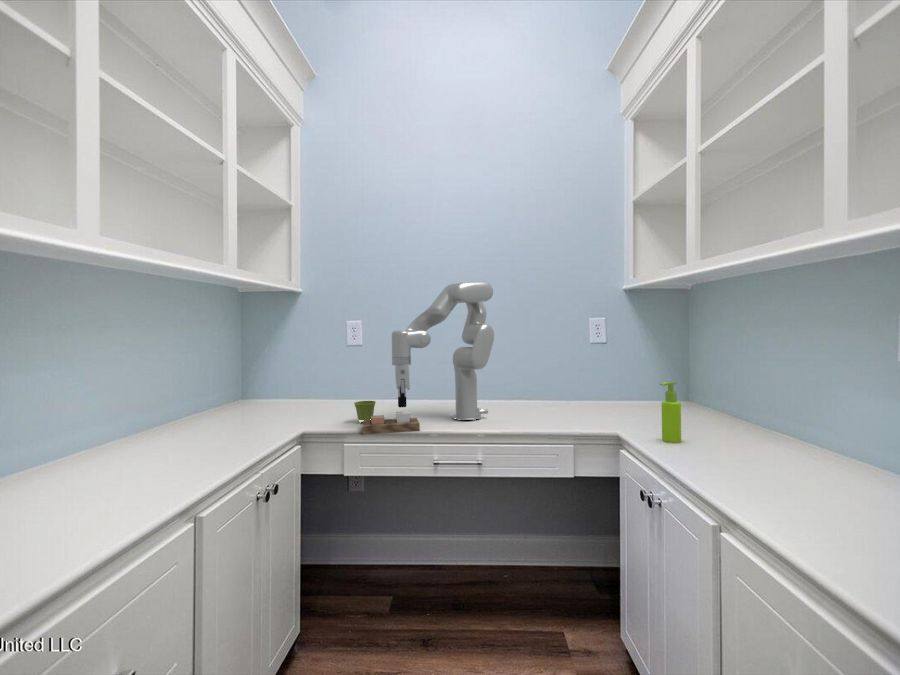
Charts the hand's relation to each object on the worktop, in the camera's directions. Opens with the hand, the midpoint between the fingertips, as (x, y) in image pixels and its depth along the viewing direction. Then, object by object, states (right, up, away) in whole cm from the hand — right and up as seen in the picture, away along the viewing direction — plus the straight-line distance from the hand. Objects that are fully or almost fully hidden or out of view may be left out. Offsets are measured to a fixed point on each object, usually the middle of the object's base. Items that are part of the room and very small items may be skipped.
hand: (402, 406), depth 184 cm
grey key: (0, -6, 0) cm, 6 cm away
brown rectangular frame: (-5, -9, -1) cm, 10 cm away
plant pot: (-18, -9, +15) cm, 25 cm away
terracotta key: (-9, -8, -2) cm, 12 cm away
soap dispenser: (+94, -7, -29) cm, 98 cm away
